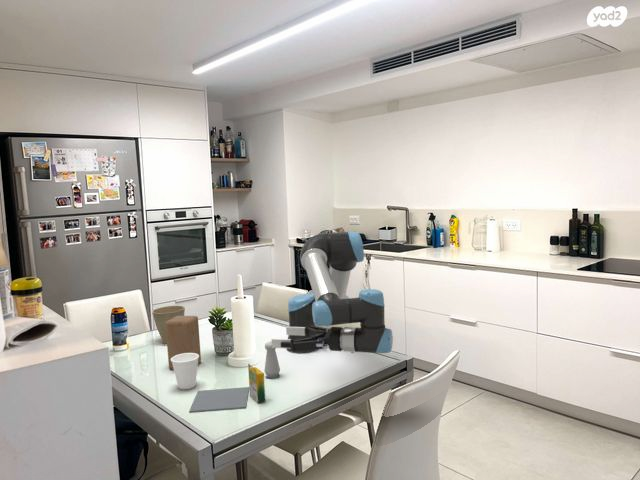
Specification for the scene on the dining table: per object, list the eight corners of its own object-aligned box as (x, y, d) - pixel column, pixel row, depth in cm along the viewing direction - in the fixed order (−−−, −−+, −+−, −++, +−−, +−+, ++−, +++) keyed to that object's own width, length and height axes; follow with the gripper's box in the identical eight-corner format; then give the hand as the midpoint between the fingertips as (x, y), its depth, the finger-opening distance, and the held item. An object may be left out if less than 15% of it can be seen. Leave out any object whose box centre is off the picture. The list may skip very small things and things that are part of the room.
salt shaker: (282, 374, 183) (280, 340, 182) (276, 379, 178) (274, 345, 176) (268, 372, 185) (266, 339, 184) (262, 378, 180) (260, 344, 178)
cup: (186, 394, 168) (183, 363, 167) (167, 389, 174) (164, 359, 173) (206, 383, 177) (204, 354, 176) (187, 379, 182) (185, 351, 181)
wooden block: (191, 370, 191) (187, 321, 189) (168, 370, 193) (164, 321, 191) (202, 362, 201) (198, 315, 199) (180, 361, 203) (176, 315, 201)
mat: (249, 388, 171) (249, 387, 171) (245, 408, 155) (245, 406, 155) (198, 392, 170) (198, 390, 170) (189, 412, 154) (189, 411, 154)
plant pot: (174, 335, 242) (171, 304, 240) (193, 339, 233) (191, 307, 232) (148, 343, 230) (145, 311, 228) (167, 348, 221) (165, 314, 220)
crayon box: (265, 401, 160) (263, 367, 158) (257, 403, 158) (255, 369, 157) (257, 393, 166) (255, 361, 165) (249, 396, 164) (247, 363, 163)
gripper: (333, 364, 140) (265, 360, 146) (351, 338, 164) (292, 336, 170) (332, 339, 139) (264, 336, 145) (350, 317, 163) (291, 315, 169)
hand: (279, 336), depth 157 cm, fingers open, 13 cm apart
